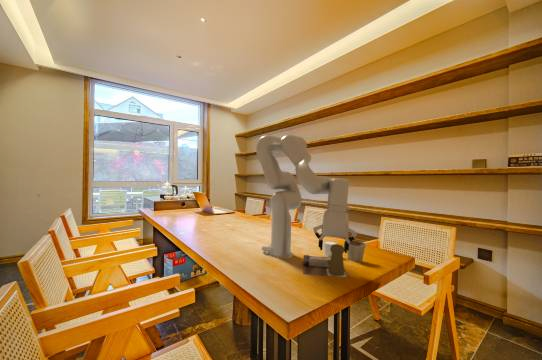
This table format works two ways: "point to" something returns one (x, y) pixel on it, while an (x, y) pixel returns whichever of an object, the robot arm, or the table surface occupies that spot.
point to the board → (319, 270)
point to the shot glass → (328, 247)
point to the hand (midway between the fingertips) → (333, 250)
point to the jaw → (316, 261)
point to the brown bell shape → (336, 260)
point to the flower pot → (356, 250)
